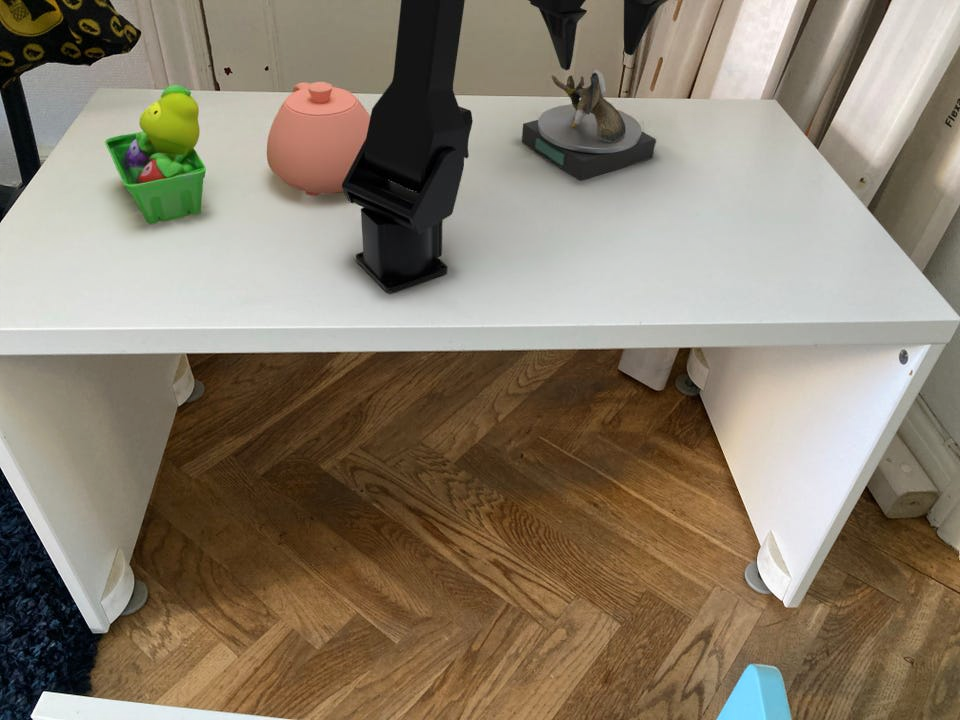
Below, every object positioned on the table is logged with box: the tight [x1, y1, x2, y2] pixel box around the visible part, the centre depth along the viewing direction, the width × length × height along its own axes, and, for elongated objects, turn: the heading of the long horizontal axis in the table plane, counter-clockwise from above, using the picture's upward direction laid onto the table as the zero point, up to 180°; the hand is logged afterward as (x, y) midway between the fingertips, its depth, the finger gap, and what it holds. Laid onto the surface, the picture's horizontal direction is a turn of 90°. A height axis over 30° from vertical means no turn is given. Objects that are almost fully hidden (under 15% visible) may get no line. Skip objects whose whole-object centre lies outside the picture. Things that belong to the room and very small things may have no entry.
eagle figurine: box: [551, 69, 626, 143], centre depth 93 cm, size 8×7×9 cm
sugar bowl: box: [266, 81, 371, 197], centre depth 87 cm, size 12×14×10 cm
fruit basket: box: [104, 84, 207, 225], centre depth 81 cm, size 11×9×11 cm
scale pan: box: [537, 103, 643, 153], centre depth 95 cm, size 12×12×1 cm
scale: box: [521, 119, 657, 181], centre depth 96 cm, size 11×11×2 cm
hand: (597, 61), depth 90 cm, fingers open, 9 cm apart
